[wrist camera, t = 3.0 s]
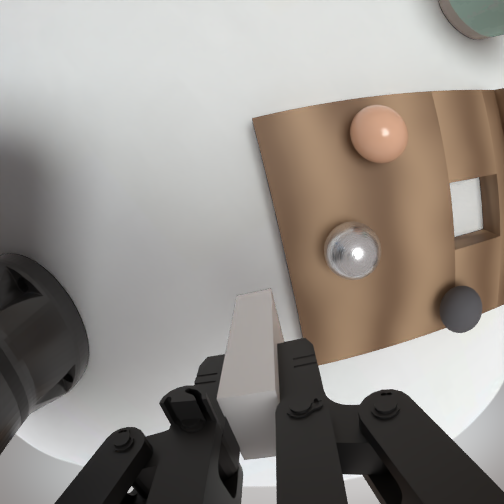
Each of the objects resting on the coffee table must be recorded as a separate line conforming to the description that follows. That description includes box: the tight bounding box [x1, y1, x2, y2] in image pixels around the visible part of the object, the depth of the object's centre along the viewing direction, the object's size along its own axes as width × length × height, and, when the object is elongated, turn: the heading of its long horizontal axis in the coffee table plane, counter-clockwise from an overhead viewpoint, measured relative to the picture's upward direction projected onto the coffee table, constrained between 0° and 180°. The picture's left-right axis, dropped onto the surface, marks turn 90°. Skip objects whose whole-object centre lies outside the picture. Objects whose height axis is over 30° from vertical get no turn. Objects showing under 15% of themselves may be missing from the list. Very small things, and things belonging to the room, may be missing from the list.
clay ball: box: [350, 105, 408, 163], centre depth 17 cm, size 4×4×4 cm
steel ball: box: [324, 222, 381, 280], centre depth 19 cm, size 4×4×4 cm
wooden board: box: [252, 88, 504, 365], centre depth 20 cm, size 20×18×5 cm
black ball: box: [440, 286, 482, 333], centre depth 20 cm, size 4×4×4 cm
